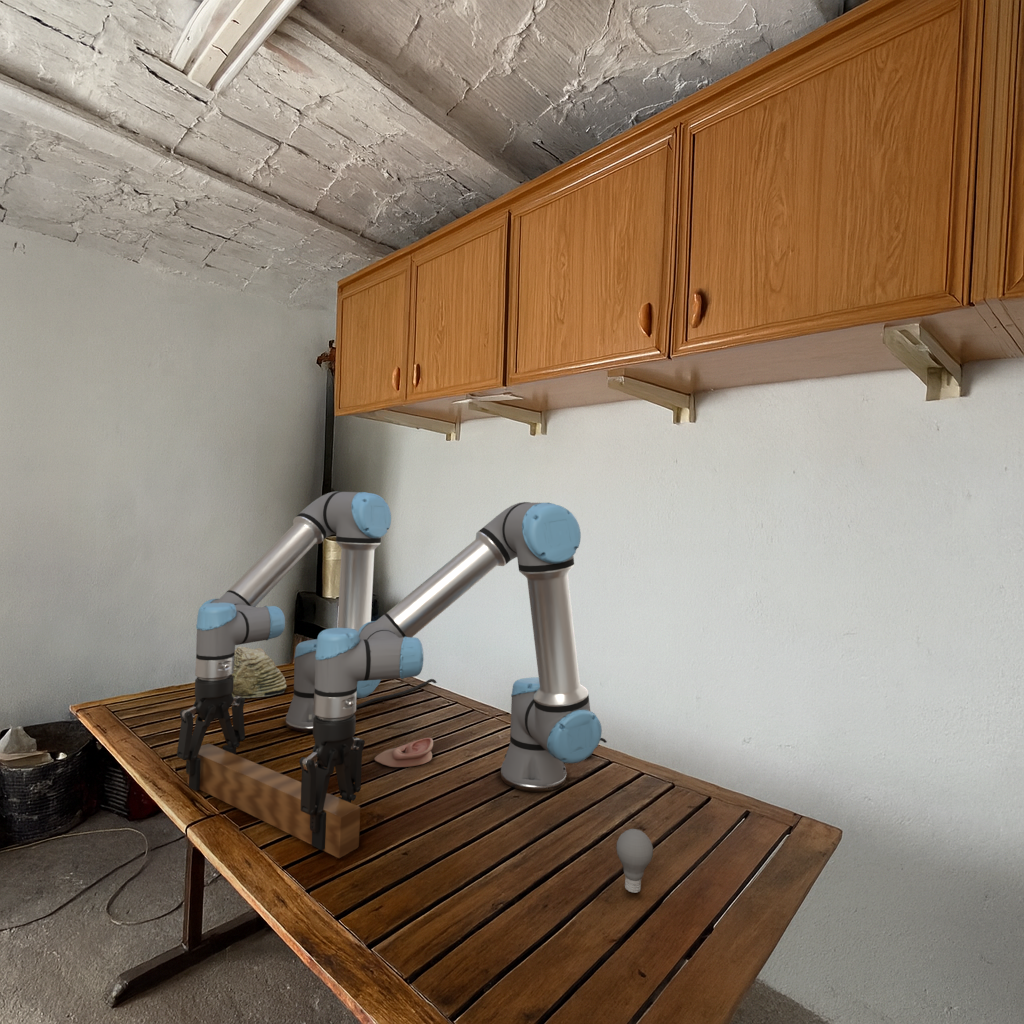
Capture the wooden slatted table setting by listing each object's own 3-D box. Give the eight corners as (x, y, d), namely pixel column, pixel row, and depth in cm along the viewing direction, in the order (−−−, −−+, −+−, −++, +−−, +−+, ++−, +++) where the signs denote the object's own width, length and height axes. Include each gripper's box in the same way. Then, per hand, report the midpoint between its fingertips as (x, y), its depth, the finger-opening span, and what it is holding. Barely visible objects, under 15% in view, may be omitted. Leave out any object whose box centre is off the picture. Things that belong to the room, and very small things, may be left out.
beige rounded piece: (369, 747, 150) (388, 730, 162) (368, 764, 151) (387, 746, 162) (422, 754, 148) (438, 736, 159) (421, 771, 148) (437, 752, 159)
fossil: (218, 695, 195) (220, 647, 195) (278, 685, 208) (279, 640, 207) (228, 703, 189) (230, 653, 188) (289, 692, 201) (290, 645, 201)
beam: (187, 783, 137) (188, 749, 137) (207, 776, 141) (208, 743, 141) (339, 858, 111) (340, 817, 111) (358, 846, 115) (360, 806, 115)
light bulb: (610, 879, 108) (613, 822, 108) (644, 879, 109) (647, 822, 109) (619, 902, 102) (622, 840, 102) (655, 901, 103) (658, 840, 103)
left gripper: (179, 690, 126) (175, 804, 126) (265, 670, 142) (261, 771, 143) (158, 682, 130) (155, 794, 130) (245, 664, 146) (241, 762, 147)
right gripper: (309, 733, 106) (304, 870, 107) (384, 706, 121) (379, 826, 122) (280, 723, 110) (275, 855, 111) (356, 698, 125) (352, 815, 126)
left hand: (210, 782), depth 136 cm, fingers open, 7 cm apart
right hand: (330, 840), depth 116 cm, fingers closed on beam, 5 cm apart
